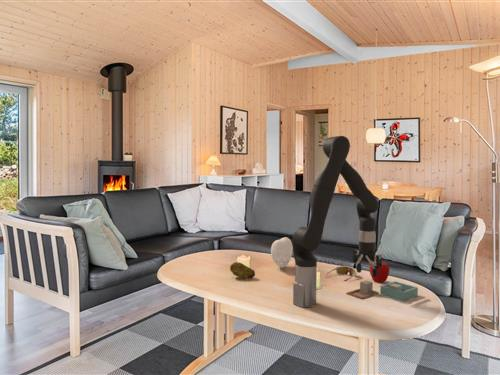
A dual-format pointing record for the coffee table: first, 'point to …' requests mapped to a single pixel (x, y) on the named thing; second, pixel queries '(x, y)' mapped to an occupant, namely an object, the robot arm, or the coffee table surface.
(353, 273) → the sunglasses
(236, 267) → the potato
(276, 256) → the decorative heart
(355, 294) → the tray
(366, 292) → the block
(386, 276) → the apple
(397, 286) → the matte taupe cube
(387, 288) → the teal open box
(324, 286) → the coffee table surface
